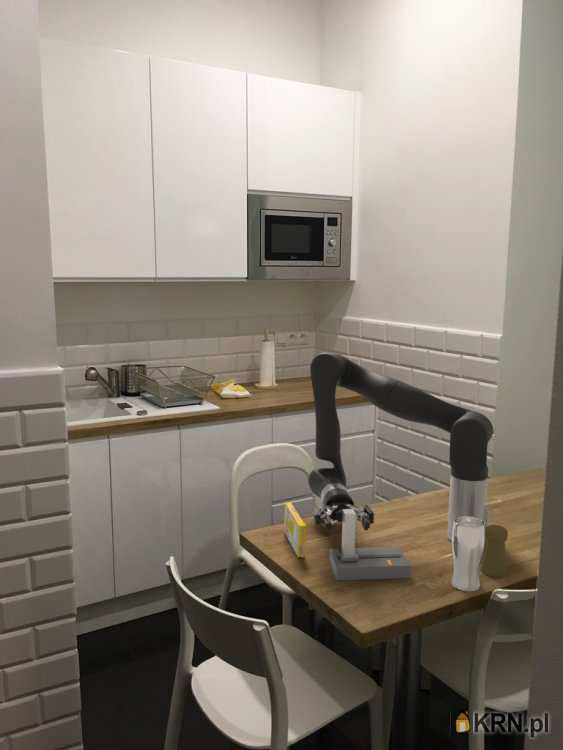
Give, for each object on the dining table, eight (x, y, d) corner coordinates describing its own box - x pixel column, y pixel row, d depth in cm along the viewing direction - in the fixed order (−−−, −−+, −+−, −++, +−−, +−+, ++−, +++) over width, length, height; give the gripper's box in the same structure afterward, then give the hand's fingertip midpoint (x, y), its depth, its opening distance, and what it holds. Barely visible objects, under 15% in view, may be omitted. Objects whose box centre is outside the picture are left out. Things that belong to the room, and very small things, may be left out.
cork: (508, 578, 146) (512, 533, 144) (481, 575, 147) (484, 530, 145) (505, 566, 152) (508, 522, 150) (478, 564, 153) (481, 520, 151)
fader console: (398, 558, 156) (399, 545, 155) (410, 577, 146) (410, 564, 145) (329, 560, 154) (329, 547, 154) (336, 580, 144) (336, 567, 144)
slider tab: (354, 551, 152) (355, 507, 150) (358, 560, 147) (359, 515, 145) (337, 551, 151) (338, 507, 149) (341, 561, 146) (342, 515, 144)
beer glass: (476, 595, 138) (481, 530, 135) (445, 587, 142) (448, 523, 139) (485, 582, 144) (489, 519, 141) (454, 574, 147) (458, 513, 145)
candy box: (306, 557, 156) (306, 525, 154) (297, 558, 155) (298, 526, 154) (291, 531, 171) (291, 501, 170) (283, 531, 171) (283, 502, 170)
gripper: (309, 488, 162) (318, 512, 146) (364, 487, 164) (379, 511, 148) (309, 516, 164) (317, 543, 148) (363, 515, 165) (378, 541, 149)
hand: (348, 527), depth 148 cm, fingers open, 8 cm apart
